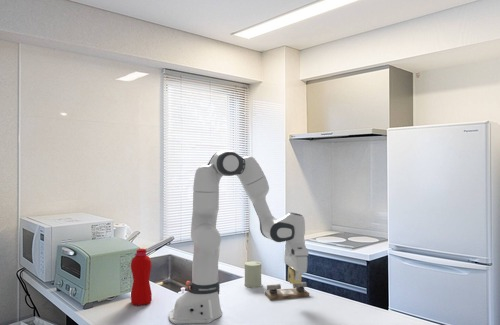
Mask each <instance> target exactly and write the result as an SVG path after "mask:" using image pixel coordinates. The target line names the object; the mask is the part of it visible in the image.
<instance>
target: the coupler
mask: <svg viewBox="0 0 500 325" xmlns="http://www.w3.org/2000/svg"><path fill="white" fill-rule="evenodd" d="M295 274H296V273H295V270H294V269H292V268H289V267H288V268H287V282H288V283H290V284H292V285H293V284H297V283H301V282H302V279H303V278H302V274H303V273H301V274H300V276H299V280H295V279H294V278H295Z"/></svg>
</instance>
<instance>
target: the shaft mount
mask: <svg viewBox="0 0 500 325" xmlns="http://www.w3.org/2000/svg"><path fill="white" fill-rule="evenodd" d="M307 284H308V282H306V281H301V283H297V284H292V288H283V289H282V285H281V283H278V284H276V283H275V284H267V285H266V290H265V291H264V295H265V296H266V297H267V299H268V300H269V301H275V300H287V299H297V298H307V297H310V292H308V291H307V290H306V289H305V288H307Z"/></svg>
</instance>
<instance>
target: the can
mask: <svg viewBox="0 0 500 325" xmlns="http://www.w3.org/2000/svg"><path fill="white" fill-rule="evenodd" d="M243 264H244V286H245V287H247V288H250V287H251V289H253V288H254V289H255V288H259V287H262V286H263V284H262V262H260V261H255V260H252V261H246V262H244V263H243Z"/></svg>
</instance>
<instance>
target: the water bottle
mask: <svg viewBox="0 0 500 325" xmlns="http://www.w3.org/2000/svg"><path fill="white" fill-rule="evenodd" d="M129 266H130V271H131V275H132V279H133V282H132V287H131V292H130V302H131V305H133V306H141V305H142V306H145V305H149V304H150V303H151V302H152V300H153V299H152V294H153V293H152V288H151V283H150V276H151V272H152V271H151V270H152V266H153V265H152V260H151V258H150V256H148V255H147V248H137V250H136V253H135V254H134V257H132V259H131V260H130V262H129V264H128V266H127V268H129ZM127 273H128V269H127ZM126 277H127V278H129V276H128V275H126Z"/></svg>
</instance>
